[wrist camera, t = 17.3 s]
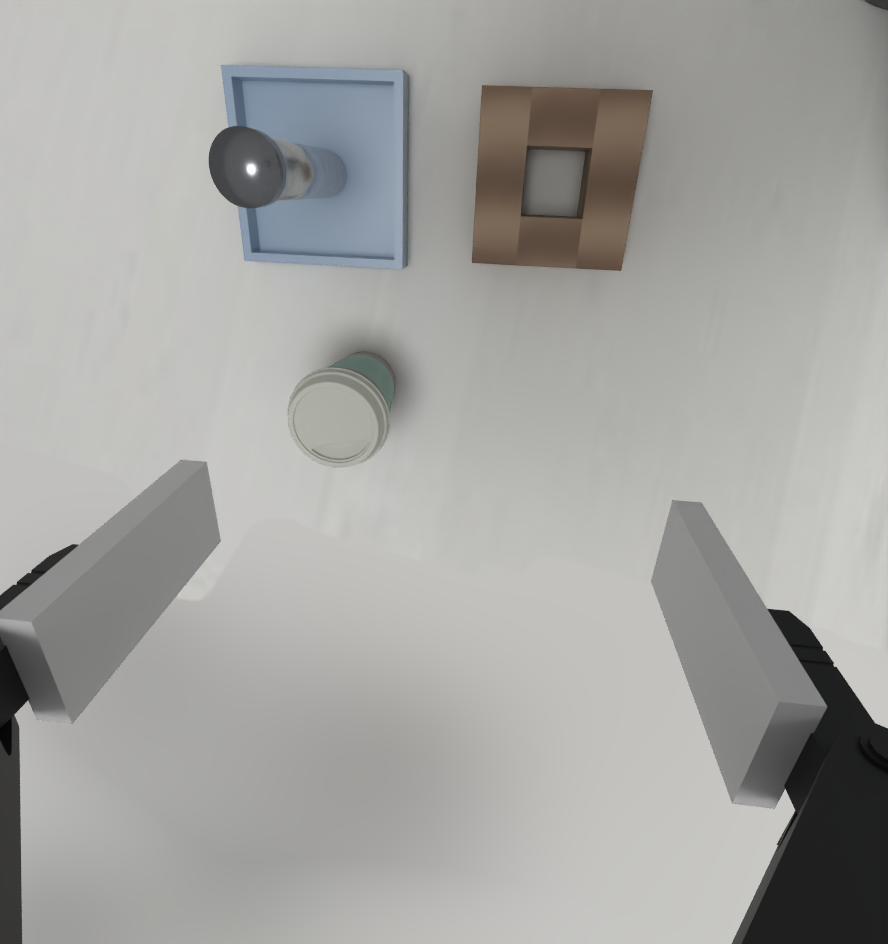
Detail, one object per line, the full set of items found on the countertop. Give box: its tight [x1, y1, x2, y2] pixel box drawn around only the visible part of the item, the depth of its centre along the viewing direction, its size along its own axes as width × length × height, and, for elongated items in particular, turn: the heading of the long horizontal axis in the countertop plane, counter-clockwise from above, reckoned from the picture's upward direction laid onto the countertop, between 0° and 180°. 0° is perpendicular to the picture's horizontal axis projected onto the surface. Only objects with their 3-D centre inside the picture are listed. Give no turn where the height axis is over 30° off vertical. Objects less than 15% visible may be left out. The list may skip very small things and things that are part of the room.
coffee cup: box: [288, 352, 395, 467], centre depth 50 cm, size 9×9×12 cm
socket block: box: [472, 85, 653, 271], centre depth 44 cm, size 12×12×4 cm
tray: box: [221, 65, 408, 269], centre depth 46 cm, size 14×14×2 cm
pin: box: [209, 126, 346, 208], centre depth 39 cm, size 4×4×16 cm
